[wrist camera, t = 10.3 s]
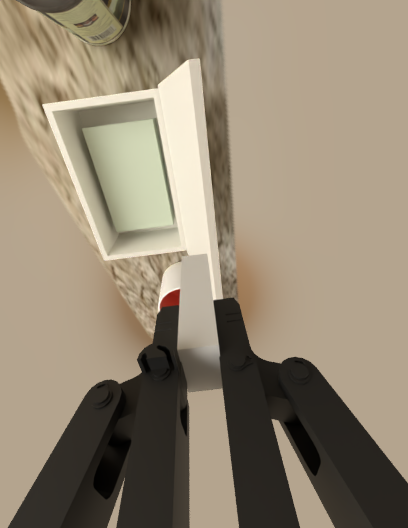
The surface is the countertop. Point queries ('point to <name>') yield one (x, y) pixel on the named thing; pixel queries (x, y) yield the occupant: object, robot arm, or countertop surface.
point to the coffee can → (86, 17)
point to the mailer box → (121, 171)
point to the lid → (191, 163)
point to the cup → (170, 286)
